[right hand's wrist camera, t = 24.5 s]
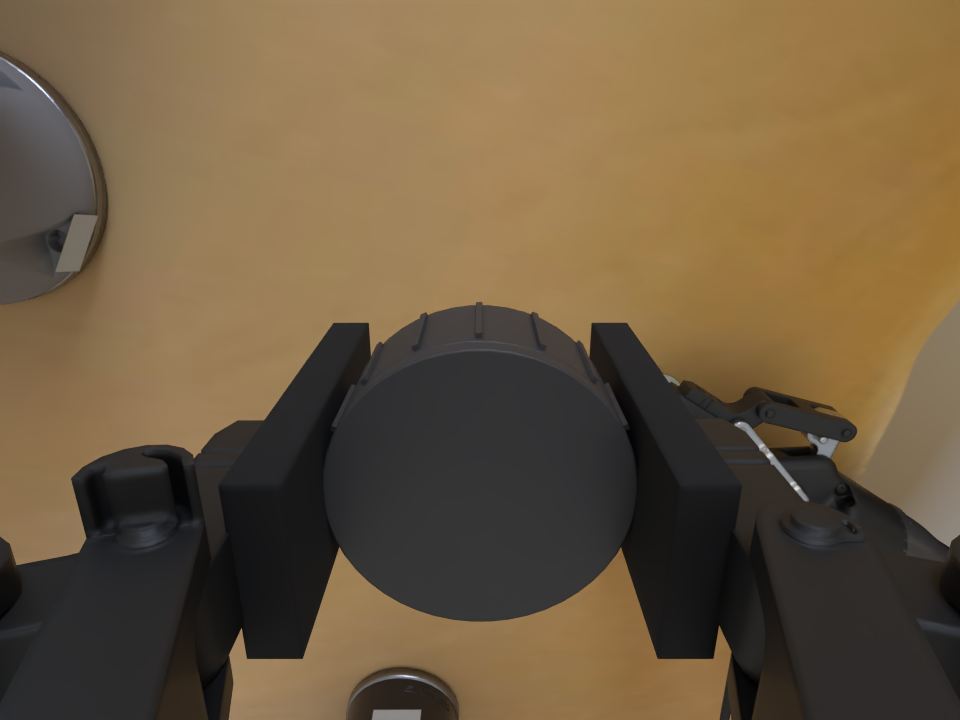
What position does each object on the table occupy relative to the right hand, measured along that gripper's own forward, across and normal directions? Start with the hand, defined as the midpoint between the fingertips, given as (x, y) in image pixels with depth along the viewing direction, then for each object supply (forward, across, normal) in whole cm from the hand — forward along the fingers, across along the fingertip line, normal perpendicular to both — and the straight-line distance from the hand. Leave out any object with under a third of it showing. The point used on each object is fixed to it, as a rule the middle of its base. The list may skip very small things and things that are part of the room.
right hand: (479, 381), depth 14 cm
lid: (-4, 0, 0) cm, 4 cm away
